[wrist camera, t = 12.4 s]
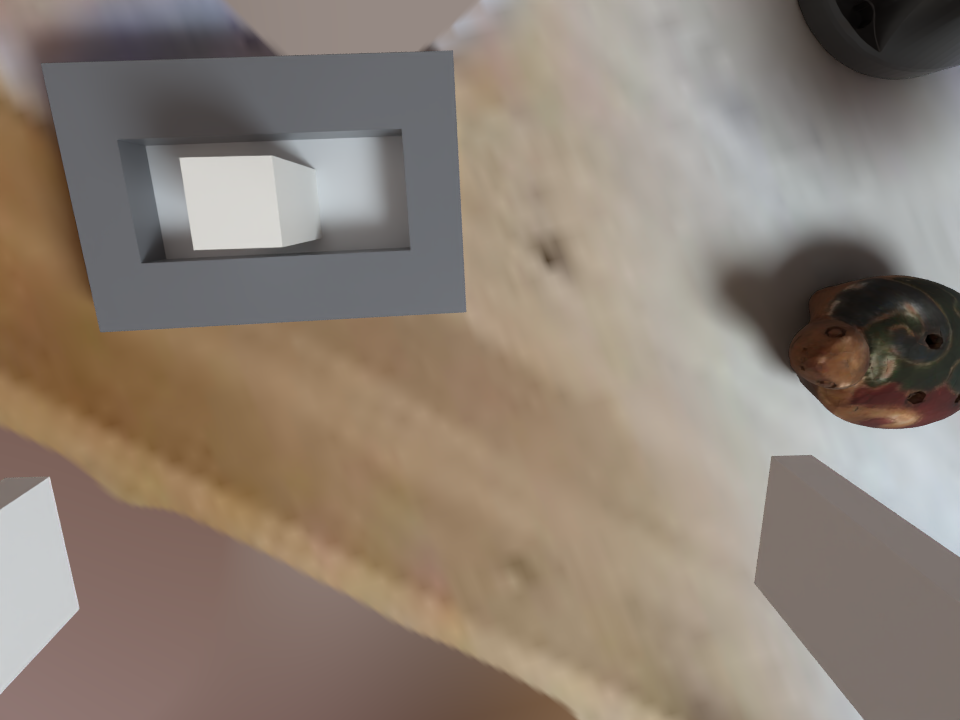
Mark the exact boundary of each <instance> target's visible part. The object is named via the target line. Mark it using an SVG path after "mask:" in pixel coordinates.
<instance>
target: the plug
mask: <svg viewBox="0 0 960 720" xmlns="http://www.w3.org/2000/svg"><path fill="white" fill-rule="evenodd" d="M179 159H180V165H181V172H182V178H183V185H184V191H185V197H186V204H187V210H188V217H189V223H190V230H191V236H192V242H193V249H194V250H213V249H244V248H274V247H286V246H290V245H294V244H299V243H303V242H307V241H312V240H316V239H320V238H322V230H321V220H320V210H319V200H318V190H317V179H316V170H315V169H312V168H309V167H306V166H303V165H300V164H297V163H294V162H291V161H288V160H284V159H281V158H278V157H275V156H272V155H270V156H228V157H186V158H179Z"/></svg>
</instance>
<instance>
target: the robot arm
mask: <svg viewBox="0 0 960 720" xmlns="http://www.w3.org/2000/svg"><path fill="white" fill-rule="evenodd" d="M798 2H799V5H800V8H801V11H802V13H803V15H804V18H805V20H806V22H807V24H808V26H809V27H810V29H811V31H812V32H813V34H814V35H815V37H816V38H817V40H818V41H819V42H820V44H821V45H822V46H823V47H824V48H825V49H826V50H827V51H828V52H829V53H830V54H831V55H832V56H833V57H834V58H836V59H837V60H838V61H840V62H841V63H842V64H844V65H846V66H847V67H849V68H851V69H853V70H855V71H857V72H860V73H862V74H865V75H869V76H872V77H877V78H884V79H907V78H913V77H919V76H923V75H927V74H930V73H934V72H937V71H941V70H944V69H948V68H951V67H954V66H957V65H960V0H798ZM754 583H755V585H756V586H757V587H758V588H759V590H760V591H761V592H762V593H763V595H764V596H765V597H766V598H767V600H768V601H769V602H770V603H771V605H772V606H773V607H774V608H775V609H776V611H777V612H778V613H779V614H780V616H781V617H782V618H783V619H784V621H785V622H786V623H787V624H788V626H789V627H790V628H791V629H792V631H793V632H794V633H795V634H796V636H797V637H798V638H799V639H800V641H801V642H802V643H803V644H804V646H805V647H806V648H807V649H808V651H809V652H810V653H811V654H812V655H813V657H814V658H815V659H816V660H817V662H818V663H819V664H820V665H821V667H822V668H823V669H824V670H825V672H826V673H827V674H828V675H829V677H830V678H831V679H832V680H833V682H834V683H835V684H836V685H837V687H838V688H839V689H840V690H841V692H842V693H843V694H844V695H845V697H846V698H847V699H848V700H849V702H850V703H851V704H852V705H853V706H854V708H855V709H856V710H857V711H858V713H859V714H860V715H861V716H862V718H863V719H864V720H960V557H958V556H957V555H955V554H954V553H953V552H951V551H950V550H948V549H947V548H945V547H944V546H942V545H941V544H939V543H938V542H937V541H935V540H934V539H932V538H931V537H929V536H928V535H926V534H925V533H924V532H922V531H921V530H919V529H918V528H916V527H915V526H913V525H912V524H910V523H909V522H908V521H906V520H905V519H903V518H902V517H900V516H899V515H897V514H896V513H895V512H893V511H892V510H890V509H889V508H887V507H886V506H884V505H883V504H881V503H880V502H879V501H877V500H876V499H874V498H873V497H871V496H870V495H868V494H867V493H866V492H864V491H863V490H861V489H860V488H858V487H857V486H855V485H854V484H852V483H851V482H850V481H848V480H847V479H845V478H844V477H842V476H841V475H839V474H838V473H837V472H835V471H834V470H832V469H831V468H829V467H828V466H826V465H825V464H823V463H822V462H821V461H819V460H818V459H816V458H815V457H813V456H812V455H797V456H772V457H771V464H770V471H769V479H768V486H767V493H766V501H765V508H764V515H763V523H762V530H761V537H760V545H759V552H758V559H757V567H756V574H755V581H754ZM78 610H79V605H78V600H77V596H76V591H75V587H74V582H73V578H72V574H71V569H70V565H69V560H68V556H67V551H66V547H65V543H64V539H63V534H62V529H61V525H60V521H59V517H58V512H57V507H56V503H55V498H54V494H53V490H52V485H51V481H50V477H20V478H4V479H2V480H1V481H0V694H1V693H2V692H3V690H5V688H6V687H7V686H8V685H9V684H10V683H11V682H12V681H13V680H14V679H15V678H16V676H18V675H19V673H20V672H21V671H22V670H23V669H24V668H25V667H26V666H27V665H28V664H29V663H30V661H31V660H32V659H33V658H34V657H35V656H36V655H37V654H38V653H39V652H40V651H41V650H42V648H43V647H45V645H46V644H47V643H48V642H49V641H50V640H51V639H52V638H53V637H54V636H55V635H56V633H58V631H59V630H60V629H61V628H62V627H63V626H64V625H65V624H66V623H67V621H68V620H70V618H71V617H72V616H73V615H74V614H75V613H76V612H77V611H78Z"/></svg>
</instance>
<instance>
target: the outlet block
mask: <svg viewBox="0 0 960 720" xmlns="http://www.w3.org/2000/svg"><path fill="white" fill-rule="evenodd" d="M41 67H42V71H43V76H44V80H45V85H46V89H47V94H48V98H49V103H50V107H51V112H52V116H53V121H54V125H55V130H56V134H57V139H58V143H59V148H60V152H61V157H62V161H63V166H64V170H65V175H66V179H67V184H68V188H69V193H70V197H71V202H72V206H73V211H74V215H75V220H76V225H77V229H78V234H79V238H80V243H81V247H82V252H83V256H84V261H85V265H86V270H87V274H88V279H89V283H90V288H91V292H92V297H93V301H94V306H95V310H96V315H97V319H98V324H99V328H100V332H113V331H131V330H150V329H168V328H186V327H204V326H222V325H240V324H259V323H277V322H295V321H313V320H331V319H349V318H368V317H386V316H404V315H422V314H440V313H458V312H466V298H465V278H464V258H463V239H462V219H461V199H460V180H459V160H458V141H457V121H456V101H455V82H454V62H453V51H424V52H391V53H359V54H327V55H295V56H262V57H230V58H198V59H165V60H133V61H101V62H69V63H41ZM270 155H272V156H275V157H278V158H281V159H284V160H288V161H291V162H294V163H297V164H300V165H303V166H306V167H309V168H312V169H315V170H316V179H317V190H318V200H319V210H320V220H321V230H322V238H320V239H316V240H312V241H307V242H303V243H299V244H294V245H290V246H286V247H274V248H244V249H213V250H194V249H193V242H192V236H191V230H190V223H189V217H188V210H187V204H186V197H185V191H184V185H183V178H182V172H181V165H180V159H179V158H186V157H228V156H270Z"/></svg>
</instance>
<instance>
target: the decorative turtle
mask: <svg viewBox="0 0 960 720" xmlns="http://www.w3.org/2000/svg"><path fill="white" fill-rule="evenodd" d="M809 312H810V322H809V323H808V324H807V325H806V326H805V327H804V328H802V329H801V330H800V331H799V332H798V333H797V334H796V335H795V337H794V338H793V340H792V342H791V344H790V347H789V359H790V365H791V367H792V368H793V370H794V371H795V372H796V373H797V376H798V377H799V379H800V382H801V383H802V384H803V385H804V386H805V387H806V388H807V389H808V390H809V391H810V392H811V393H812V394H813V395H814V396H815V397H816V398H817V399H818V400H819V401H820V402H821V403H822V404H823V405H824V407H825V408H827V409H828V410H829V411H830V412H831V413H832V414H834V415H836V416H837V417H839V418H841V419H843V420H845V421H848V422H850V423H854V424H858V425H862V426H867V427H873V428H883V429H903V428H913V427H919V426H923V425H927V424H930V423H933V422H936V421H939V420H942V419H945V418H947V417H949V416H951V415H952V414H954V413H956V412H957V411H959V410H960V293H958V292H956V291H955V290H953V289H951V288H948V287H946V286H944V285H941V284H939V283H936V282H933V281H929V280H925V279H921V278H916V277H910V276H900V275H891V276H877V277H870V278H865V279H861V280H856V281H850V282H847V283H843V284H839V285H836V286H831V287H826V288H823V289H821V290H818V291H816V292H815V293H814V294H813V295H812V296H811V298H810V301H809Z"/></svg>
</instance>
